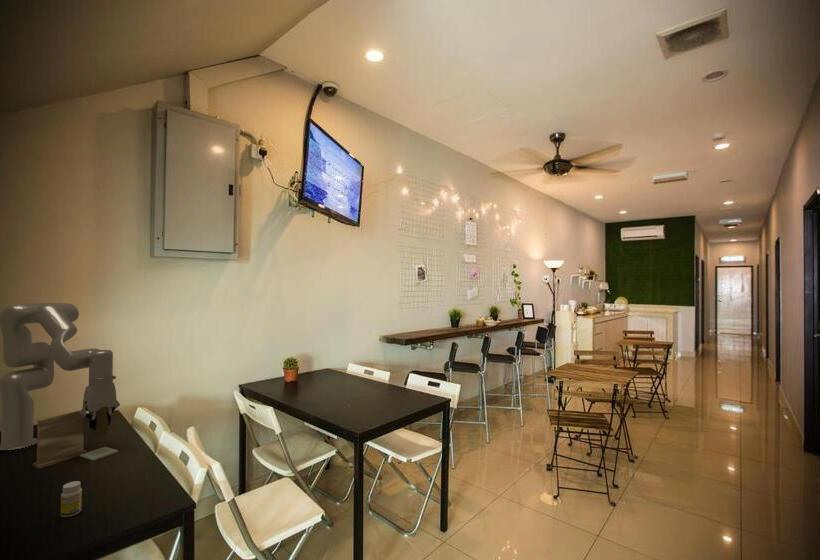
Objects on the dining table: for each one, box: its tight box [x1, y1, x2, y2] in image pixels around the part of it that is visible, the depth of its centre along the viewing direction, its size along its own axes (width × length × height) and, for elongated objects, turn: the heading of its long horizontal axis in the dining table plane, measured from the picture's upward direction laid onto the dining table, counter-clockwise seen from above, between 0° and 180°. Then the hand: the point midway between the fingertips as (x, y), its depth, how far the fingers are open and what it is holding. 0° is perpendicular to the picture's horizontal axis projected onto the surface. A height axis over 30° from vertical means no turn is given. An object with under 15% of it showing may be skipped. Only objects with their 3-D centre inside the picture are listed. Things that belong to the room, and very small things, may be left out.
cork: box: [90, 406, 110, 436], centre depth 156 cm, size 6×6×11 cm
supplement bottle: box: [60, 480, 83, 518], centre depth 115 cm, size 5×5×8 cm
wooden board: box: [32, 409, 88, 469], centre depth 151 cm, size 5×15×17 cm, turn 155°
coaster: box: [79, 446, 119, 462], centre depth 156 cm, size 9×9×1 cm
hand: (100, 426), depth 156 cm, fingers closed on cork, 4 cm apart
